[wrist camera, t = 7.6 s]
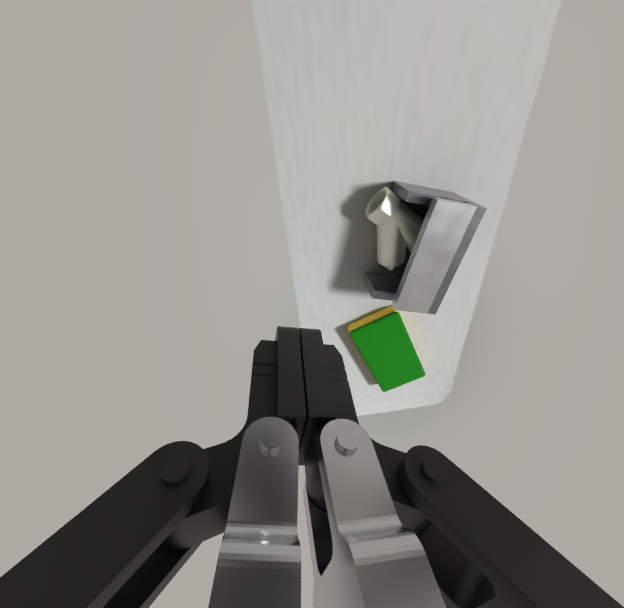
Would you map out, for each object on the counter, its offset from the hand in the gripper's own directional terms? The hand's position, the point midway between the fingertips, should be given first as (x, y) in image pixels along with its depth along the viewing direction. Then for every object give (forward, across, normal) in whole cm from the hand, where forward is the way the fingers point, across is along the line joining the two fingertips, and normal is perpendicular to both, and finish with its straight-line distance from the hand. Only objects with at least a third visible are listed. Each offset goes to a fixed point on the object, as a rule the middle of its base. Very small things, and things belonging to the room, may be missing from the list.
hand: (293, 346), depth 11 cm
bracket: (+25, -15, +4) cm, 29 cm away
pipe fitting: (+25, -12, +3) cm, 28 cm away
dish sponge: (+25, -18, +21) cm, 37 cm away
